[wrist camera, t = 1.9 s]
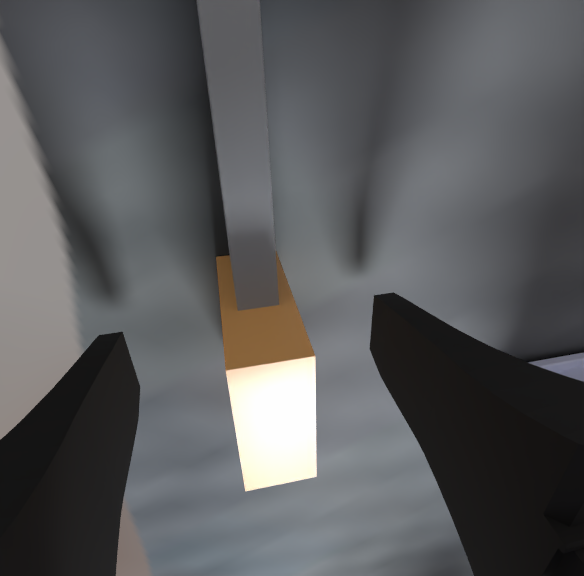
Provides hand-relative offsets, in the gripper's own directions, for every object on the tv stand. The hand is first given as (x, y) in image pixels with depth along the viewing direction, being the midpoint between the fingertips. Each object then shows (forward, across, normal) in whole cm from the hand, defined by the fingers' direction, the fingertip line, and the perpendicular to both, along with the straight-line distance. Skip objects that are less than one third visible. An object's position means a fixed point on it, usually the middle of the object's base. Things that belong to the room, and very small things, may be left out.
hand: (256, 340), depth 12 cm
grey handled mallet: (+2, 0, -5) cm, 5 cm away
